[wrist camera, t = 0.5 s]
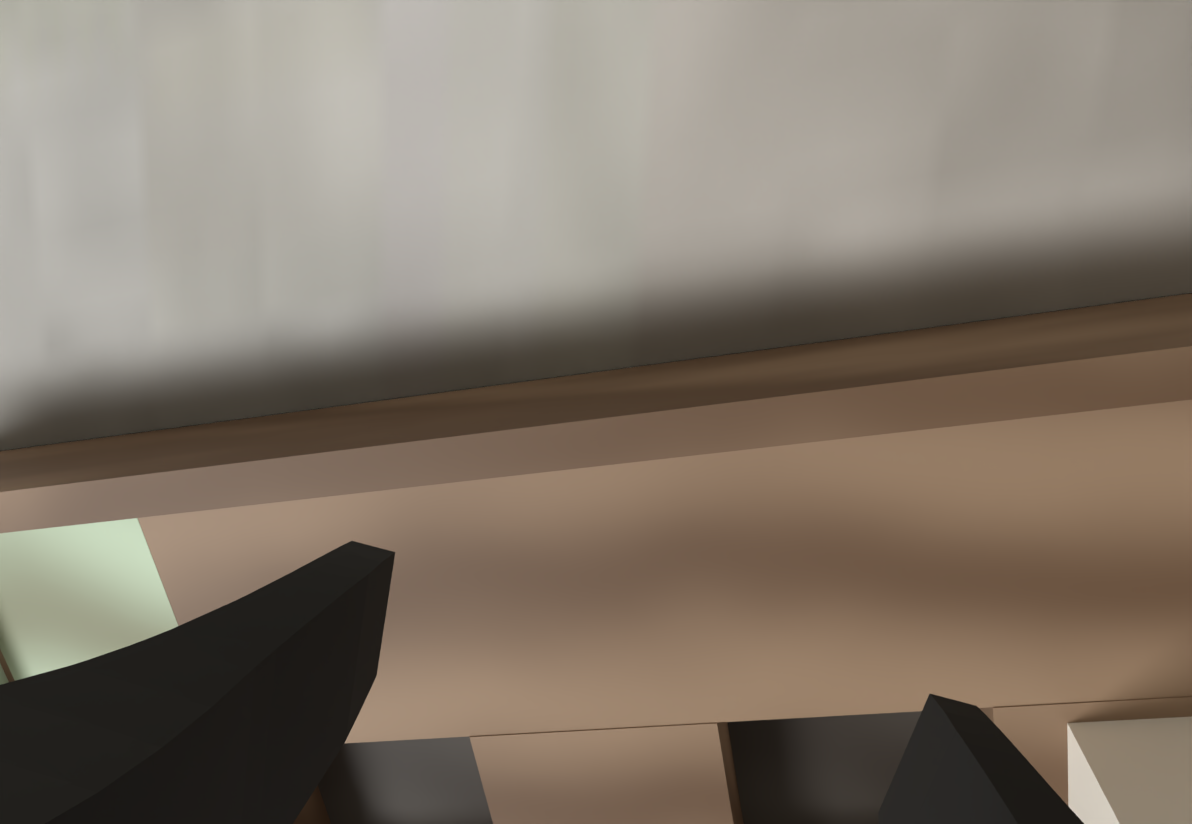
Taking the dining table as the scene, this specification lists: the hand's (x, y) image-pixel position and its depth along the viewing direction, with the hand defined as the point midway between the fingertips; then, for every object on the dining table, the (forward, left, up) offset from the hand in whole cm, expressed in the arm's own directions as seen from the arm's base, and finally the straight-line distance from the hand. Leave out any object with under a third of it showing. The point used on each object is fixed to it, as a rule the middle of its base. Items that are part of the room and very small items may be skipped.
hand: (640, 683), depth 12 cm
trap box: (-6, +2, -10) cm, 12 cm away
